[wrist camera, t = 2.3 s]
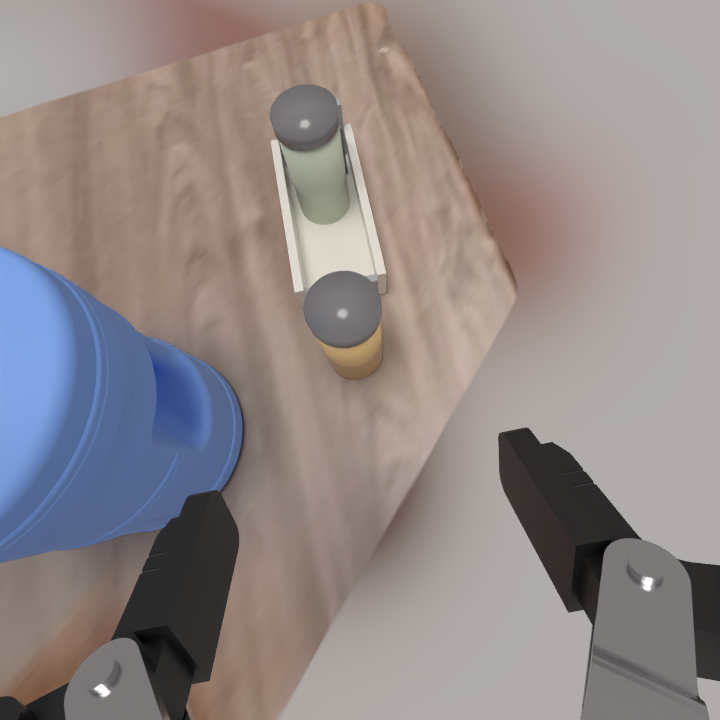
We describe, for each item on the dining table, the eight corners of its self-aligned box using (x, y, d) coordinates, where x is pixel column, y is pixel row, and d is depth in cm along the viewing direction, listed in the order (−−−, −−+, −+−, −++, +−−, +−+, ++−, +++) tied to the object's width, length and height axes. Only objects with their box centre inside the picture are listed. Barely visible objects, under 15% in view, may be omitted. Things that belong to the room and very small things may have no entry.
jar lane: (386, 293, 39) (385, 255, 32) (304, 310, 39) (286, 276, 33) (353, 154, 44) (347, 96, 38) (280, 169, 44) (261, 115, 38)
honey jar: (322, 376, 37) (296, 337, 27) (332, 323, 39) (311, 266, 28) (379, 384, 37) (375, 347, 26) (387, 330, 38) (386, 274, 27)
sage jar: (295, 223, 41) (263, 135, 30) (305, 180, 42) (277, 82, 32) (346, 227, 40) (330, 140, 30) (354, 184, 42) (343, 86, 31)
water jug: (176, 566, 33) (-687, 933, 7) (49, 467, 37) (-880, 446, 10) (279, 408, 37) (-23, 226, 10) (153, 330, 40) (-333, 34, 13)
